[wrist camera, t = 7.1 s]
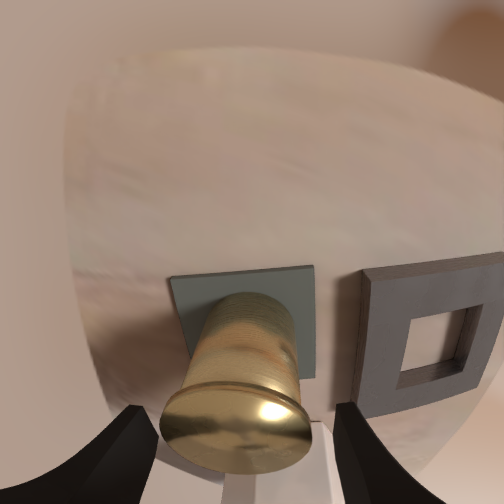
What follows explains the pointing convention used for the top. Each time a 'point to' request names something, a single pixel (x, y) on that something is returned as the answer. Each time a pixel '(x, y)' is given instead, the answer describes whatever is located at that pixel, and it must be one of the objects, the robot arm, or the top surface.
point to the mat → (260, 281)
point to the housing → (416, 306)
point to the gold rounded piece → (241, 392)
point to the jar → (292, 478)
